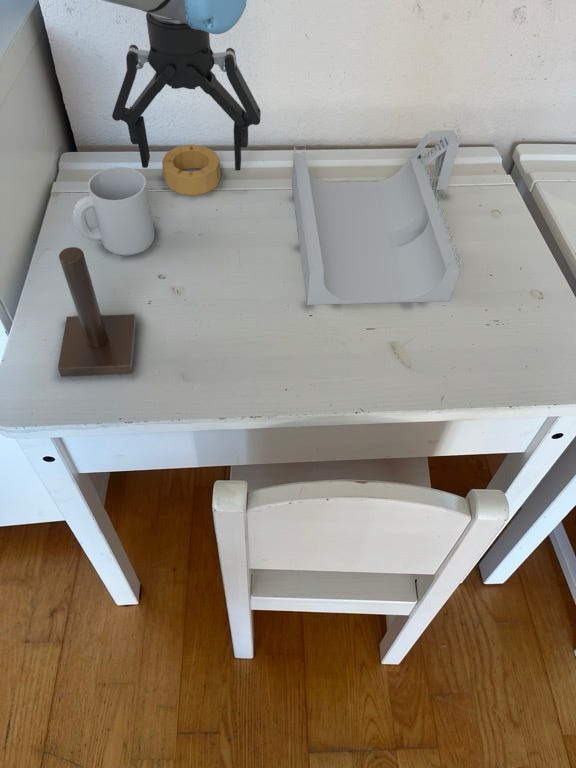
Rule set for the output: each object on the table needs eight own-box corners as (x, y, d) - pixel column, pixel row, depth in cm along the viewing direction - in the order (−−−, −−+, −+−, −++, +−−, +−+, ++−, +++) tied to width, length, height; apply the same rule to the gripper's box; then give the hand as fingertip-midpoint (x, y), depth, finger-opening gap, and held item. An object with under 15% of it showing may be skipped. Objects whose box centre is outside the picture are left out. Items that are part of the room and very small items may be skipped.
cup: (161, 249, 86) (153, 193, 78) (88, 267, 83) (72, 212, 76) (147, 217, 89) (137, 161, 82) (76, 234, 87) (59, 178, 80)
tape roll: (153, 178, 95) (151, 161, 93) (192, 156, 99) (191, 138, 97) (192, 202, 92) (190, 184, 90) (231, 177, 96) (230, 160, 94)
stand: (60, 376, 72) (23, 284, 60) (69, 324, 77) (36, 229, 65) (132, 373, 73) (108, 281, 61) (136, 322, 77) (115, 227, 66)
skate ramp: (292, 185, 95) (295, 123, 87) (439, 183, 97) (456, 122, 89) (307, 304, 80) (312, 243, 72) (481, 300, 82) (505, 239, 74)
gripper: (279, 0, 79) (276, 151, 96) (79, -7, 79) (112, 146, 96) (278, 28, 75) (276, 181, 92) (66, 20, 74) (103, 176, 91)
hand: (192, 164), depth 94 cm, fingers open, 13 cm apart
